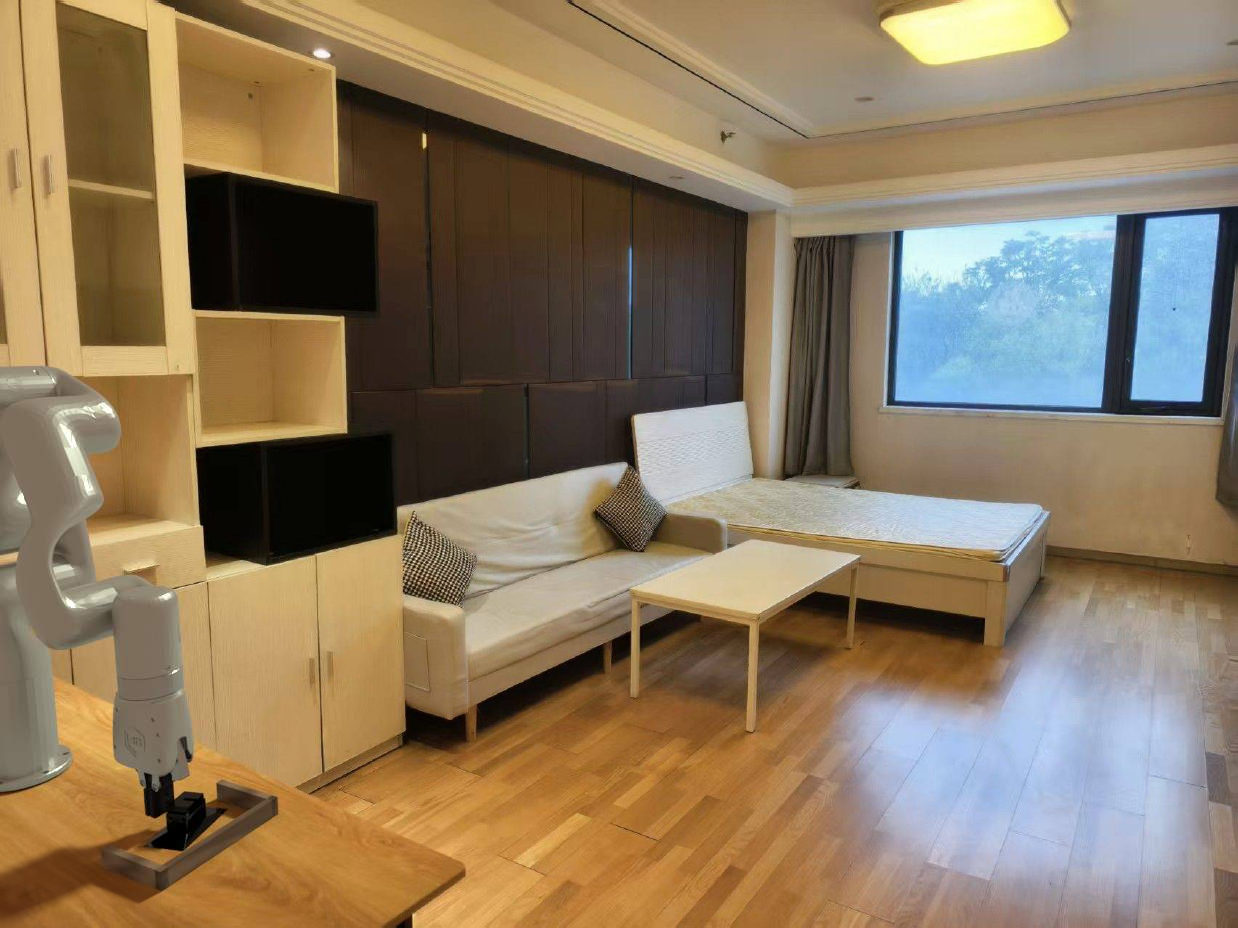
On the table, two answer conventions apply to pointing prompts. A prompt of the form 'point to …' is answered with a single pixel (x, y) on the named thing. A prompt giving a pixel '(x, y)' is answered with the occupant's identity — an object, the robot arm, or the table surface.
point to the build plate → (185, 822)
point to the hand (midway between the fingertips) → (160, 811)
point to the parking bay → (204, 850)
